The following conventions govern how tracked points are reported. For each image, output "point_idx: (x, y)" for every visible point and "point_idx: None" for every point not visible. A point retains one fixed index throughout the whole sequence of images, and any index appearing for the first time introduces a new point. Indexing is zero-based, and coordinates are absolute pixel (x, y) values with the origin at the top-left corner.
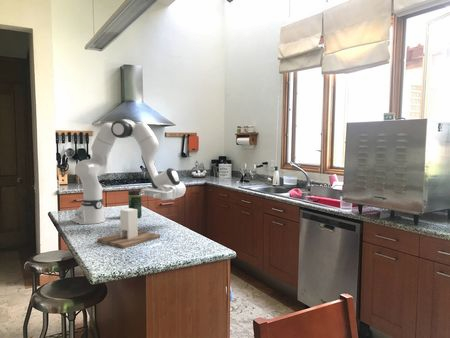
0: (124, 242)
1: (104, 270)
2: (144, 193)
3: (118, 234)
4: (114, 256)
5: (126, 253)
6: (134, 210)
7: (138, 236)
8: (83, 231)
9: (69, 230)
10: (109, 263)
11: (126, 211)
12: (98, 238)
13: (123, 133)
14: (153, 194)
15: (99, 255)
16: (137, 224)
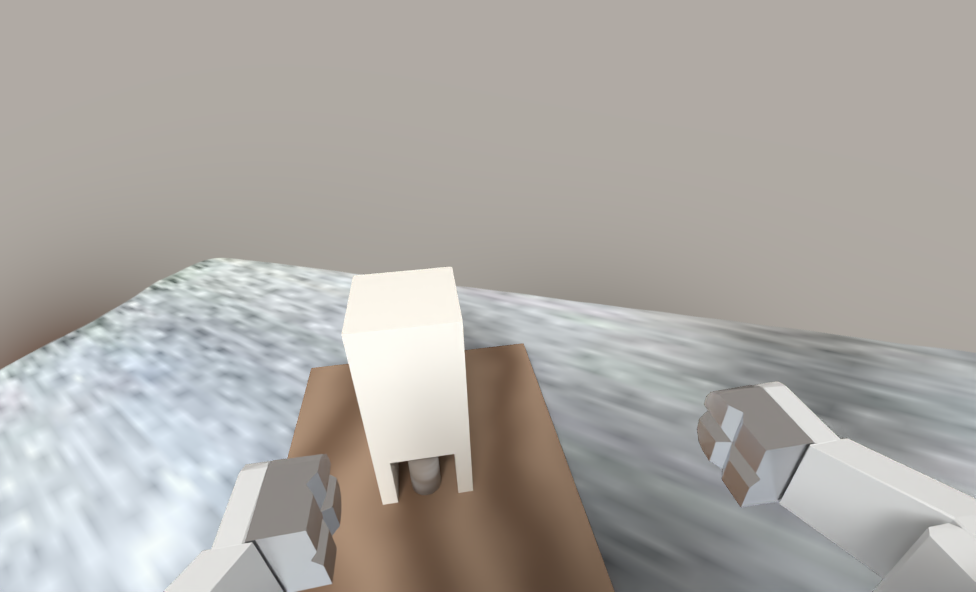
0: (346, 388)
1: (216, 275)
2: (891, 572)
3: (530, 440)
4: (276, 324)
5: (252, 359)
6: (346, 316)
7: (373, 505)
8: (800, 385)
9: (852, 352)
10: (242, 296)
11: (375, 277)
12: (522, 347)
13: None
14: (258, 466)
15: (339, 304)
16: (367, 441)
